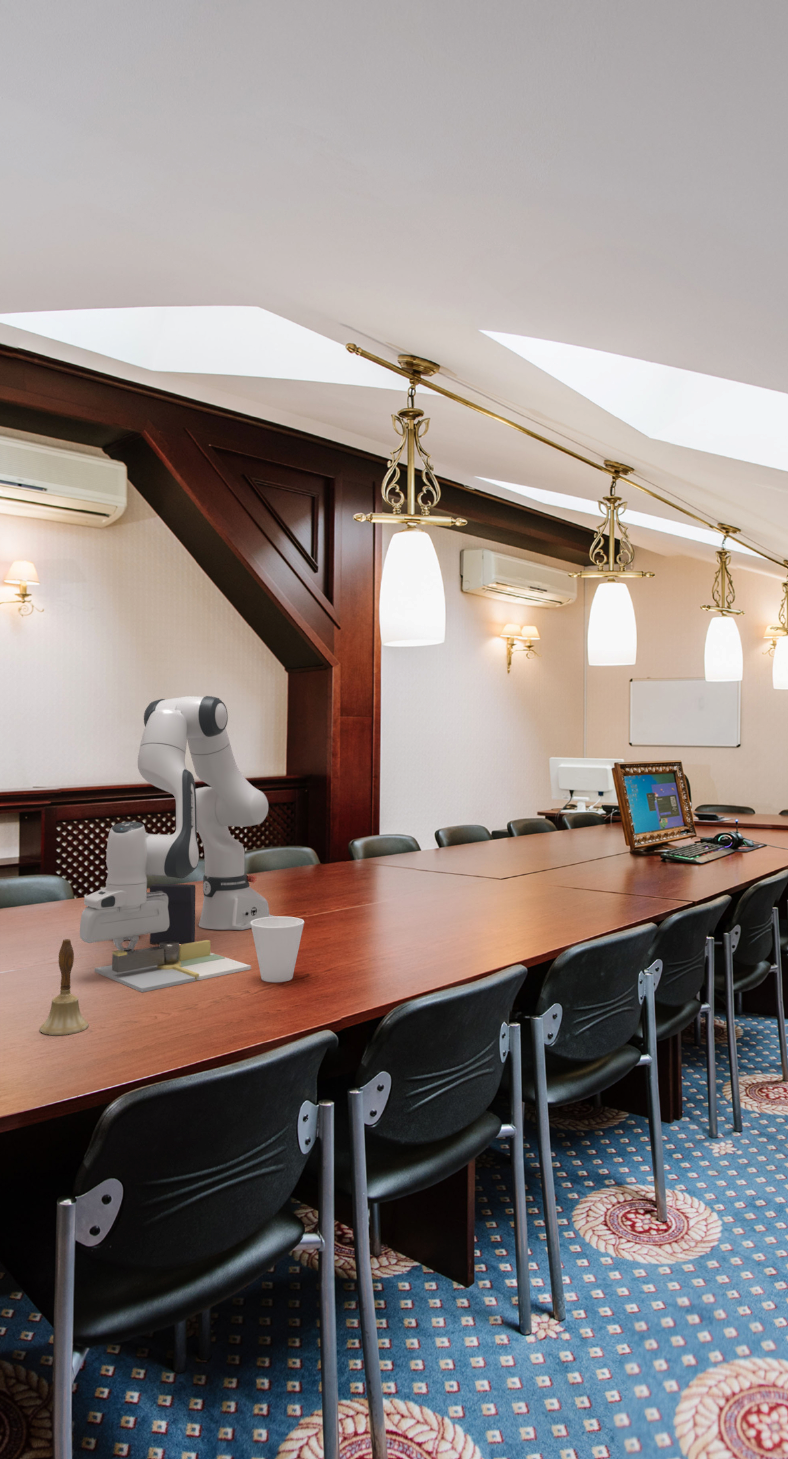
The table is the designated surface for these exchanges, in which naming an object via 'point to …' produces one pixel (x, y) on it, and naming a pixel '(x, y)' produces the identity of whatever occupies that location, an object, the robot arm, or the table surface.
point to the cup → (277, 946)
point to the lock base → (177, 969)
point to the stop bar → (145, 957)
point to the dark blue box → (177, 913)
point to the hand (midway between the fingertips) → (125, 956)
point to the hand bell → (65, 1000)
